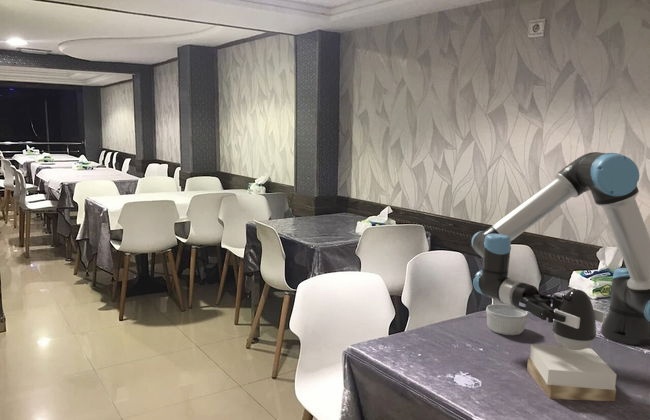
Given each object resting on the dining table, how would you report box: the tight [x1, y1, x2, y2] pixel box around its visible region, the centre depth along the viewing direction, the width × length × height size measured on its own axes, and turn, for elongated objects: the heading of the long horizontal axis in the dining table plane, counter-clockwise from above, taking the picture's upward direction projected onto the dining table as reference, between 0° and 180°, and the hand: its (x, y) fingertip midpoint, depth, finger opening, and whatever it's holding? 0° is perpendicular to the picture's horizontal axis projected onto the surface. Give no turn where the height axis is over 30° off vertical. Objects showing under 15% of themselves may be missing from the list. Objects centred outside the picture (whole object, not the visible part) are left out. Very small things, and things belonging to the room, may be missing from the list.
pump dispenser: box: [552, 288, 597, 350], centre depth 135 cm, size 10×10×15 cm
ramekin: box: [485, 303, 529, 336], centre depth 176 cm, size 13×13×7 cm
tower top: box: [529, 344, 617, 390], centre depth 137 cm, size 16×16×4 cm
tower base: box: [526, 358, 617, 402], centre depth 138 cm, size 16×16×4 cm
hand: (591, 320), depth 131 cm, fingers closed on pump dispenser, 9 cm apart
